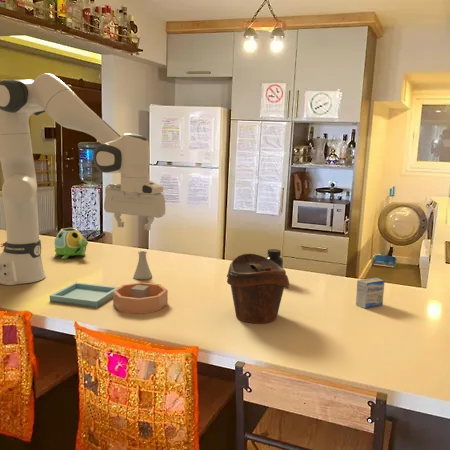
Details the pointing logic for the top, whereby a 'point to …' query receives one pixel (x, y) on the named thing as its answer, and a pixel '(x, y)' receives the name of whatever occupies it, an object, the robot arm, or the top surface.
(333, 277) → the top surface
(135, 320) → the top surface
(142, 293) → the grey square block
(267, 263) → the brown lidded bucket
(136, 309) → the terracotta bowl
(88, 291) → the parts tray
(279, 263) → the supplement bottle
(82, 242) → the turtle holder
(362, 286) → the medicine box
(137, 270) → the flask
